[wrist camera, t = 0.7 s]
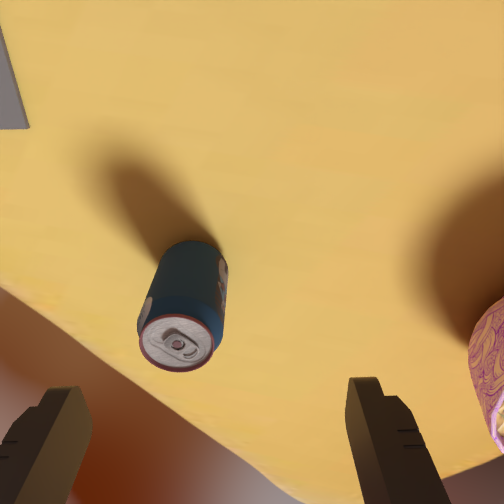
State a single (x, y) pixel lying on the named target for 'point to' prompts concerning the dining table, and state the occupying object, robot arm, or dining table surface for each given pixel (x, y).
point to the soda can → (184, 308)
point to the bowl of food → (489, 368)
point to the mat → (10, 94)
